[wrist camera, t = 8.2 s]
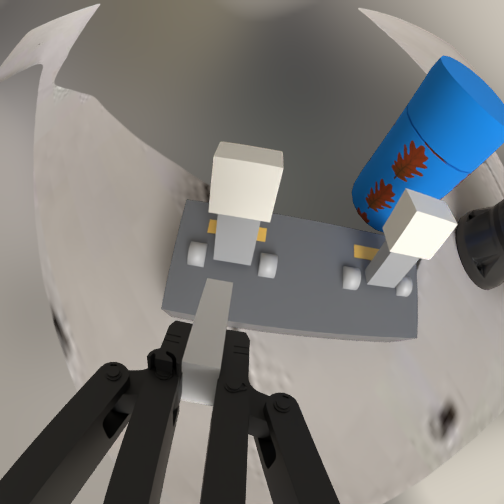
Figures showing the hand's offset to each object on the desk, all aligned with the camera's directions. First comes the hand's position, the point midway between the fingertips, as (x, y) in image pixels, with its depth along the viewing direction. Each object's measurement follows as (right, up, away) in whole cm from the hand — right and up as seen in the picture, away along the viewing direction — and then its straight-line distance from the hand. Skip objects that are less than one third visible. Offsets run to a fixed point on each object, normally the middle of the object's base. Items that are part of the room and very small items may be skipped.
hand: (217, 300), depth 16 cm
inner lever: (+16, -1, +13) cm, 20 cm away
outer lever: (0, +2, +12) cm, 12 cm away
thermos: (+22, +10, +24) cm, 34 cm away
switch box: (+7, -1, +18) cm, 19 cm away
